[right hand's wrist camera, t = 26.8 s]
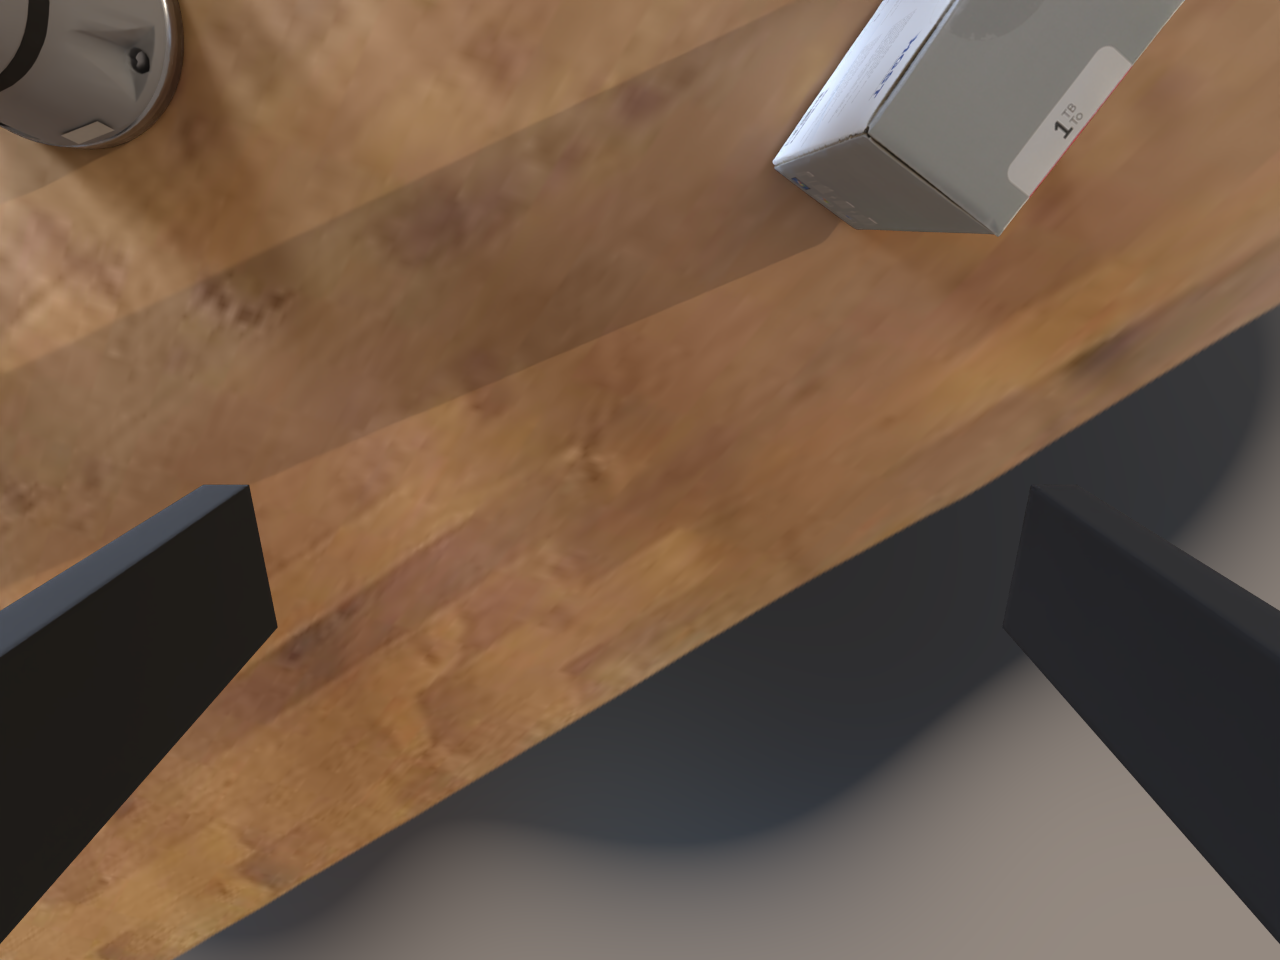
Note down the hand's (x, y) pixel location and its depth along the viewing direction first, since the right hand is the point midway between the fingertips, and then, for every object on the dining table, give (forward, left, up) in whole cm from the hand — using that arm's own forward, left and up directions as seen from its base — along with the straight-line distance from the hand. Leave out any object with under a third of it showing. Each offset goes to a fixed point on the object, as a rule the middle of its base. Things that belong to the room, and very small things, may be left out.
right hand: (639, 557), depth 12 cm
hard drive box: (-7, +19, -41) cm, 46 cm away
